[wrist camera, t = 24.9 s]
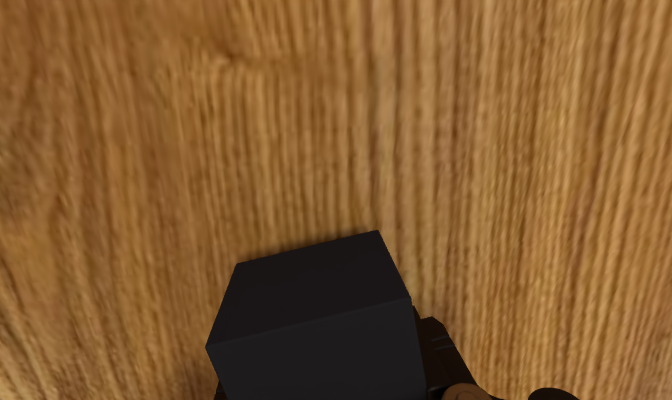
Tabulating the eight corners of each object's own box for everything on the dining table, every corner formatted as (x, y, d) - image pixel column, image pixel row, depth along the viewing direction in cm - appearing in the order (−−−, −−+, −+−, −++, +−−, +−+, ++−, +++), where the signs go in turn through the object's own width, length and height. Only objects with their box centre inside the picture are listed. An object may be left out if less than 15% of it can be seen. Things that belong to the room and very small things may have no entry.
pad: (296, 427, 15) (292, 548, 11) (235, 263, 12) (203, 347, 8) (412, 398, 15) (449, 509, 11) (378, 228, 12) (411, 297, 8)
